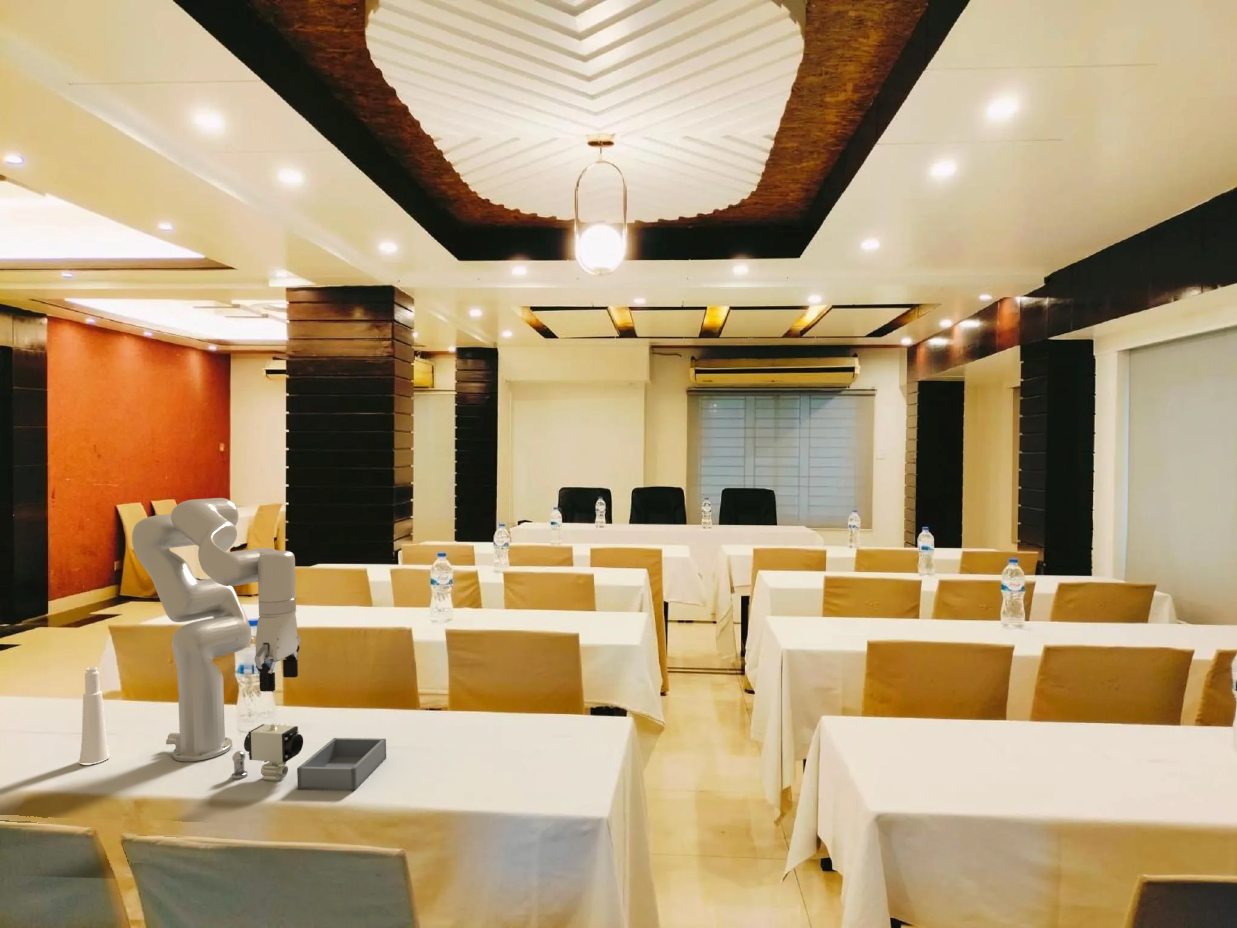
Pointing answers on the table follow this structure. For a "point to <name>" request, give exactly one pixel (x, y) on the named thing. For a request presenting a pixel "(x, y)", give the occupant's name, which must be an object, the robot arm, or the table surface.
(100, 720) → the cosmetic bottle
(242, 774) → the metal knob
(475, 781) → the table surface
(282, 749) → the pneumatic valve
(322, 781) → the tray
